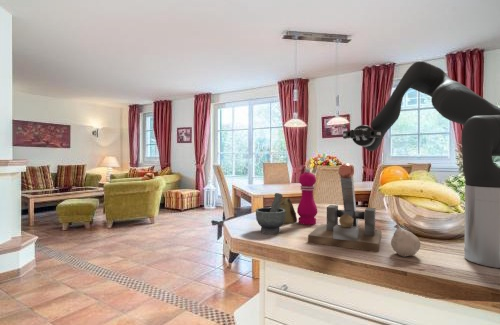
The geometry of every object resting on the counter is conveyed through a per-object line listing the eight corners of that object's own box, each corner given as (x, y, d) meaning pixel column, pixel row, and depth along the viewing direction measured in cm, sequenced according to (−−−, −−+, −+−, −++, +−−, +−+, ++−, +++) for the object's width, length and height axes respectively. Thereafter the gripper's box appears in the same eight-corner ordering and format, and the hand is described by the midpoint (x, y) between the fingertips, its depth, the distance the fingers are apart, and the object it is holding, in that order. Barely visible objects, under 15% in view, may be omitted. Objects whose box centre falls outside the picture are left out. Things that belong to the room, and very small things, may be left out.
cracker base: (381, 236, 87) (381, 206, 87) (378, 252, 72) (378, 216, 72) (321, 229, 95) (321, 202, 95) (307, 242, 80) (307, 210, 80)
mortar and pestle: (274, 237, 86) (274, 196, 86) (249, 232, 92) (249, 194, 92) (292, 229, 95) (292, 193, 95) (268, 225, 101) (269, 191, 101)
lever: (365, 221, 87) (361, 160, 75) (363, 240, 82) (358, 178, 70) (339, 218, 91) (332, 160, 79) (336, 237, 85) (327, 177, 73)
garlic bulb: (386, 250, 74) (386, 219, 73) (412, 251, 73) (413, 220, 73) (397, 259, 67) (397, 225, 67) (426, 260, 66) (426, 226, 66)
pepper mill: (320, 222, 106) (320, 168, 106) (313, 226, 100) (313, 168, 100) (301, 220, 110) (302, 167, 110) (294, 223, 104) (294, 168, 104)
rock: (261, 216, 106) (283, 216, 100) (267, 197, 110) (288, 196, 104) (275, 229, 112) (297, 230, 106) (280, 211, 116) (301, 210, 110)
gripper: (345, 127, 111) (337, 121, 95) (383, 125, 105) (381, 119, 89) (345, 146, 111) (337, 144, 95) (383, 146, 105) (381, 143, 89)
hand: (358, 132), depth 92 cm, fingers closed
